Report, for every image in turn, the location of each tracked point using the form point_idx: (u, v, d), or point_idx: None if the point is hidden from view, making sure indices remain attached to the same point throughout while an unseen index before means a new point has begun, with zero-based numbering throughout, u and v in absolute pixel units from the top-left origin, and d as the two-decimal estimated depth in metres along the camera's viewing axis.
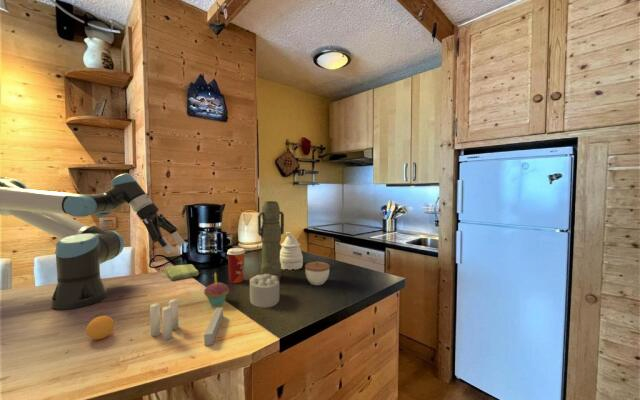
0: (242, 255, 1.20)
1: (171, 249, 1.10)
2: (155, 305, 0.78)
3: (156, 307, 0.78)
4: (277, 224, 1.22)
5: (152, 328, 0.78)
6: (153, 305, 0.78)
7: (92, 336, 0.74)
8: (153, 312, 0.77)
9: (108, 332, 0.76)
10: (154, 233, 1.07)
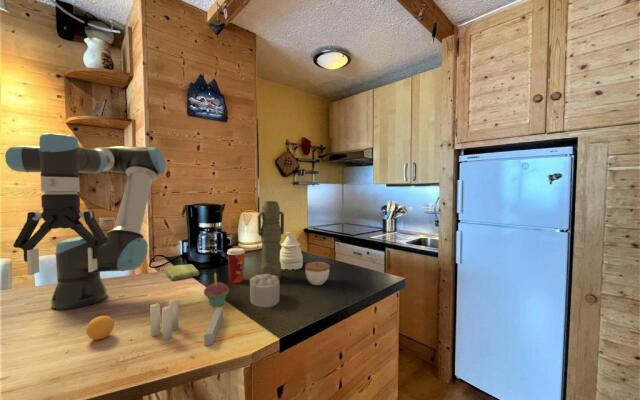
0: (242, 255, 1.20)
1: None
2: (155, 305, 0.78)
3: (156, 307, 0.78)
4: (277, 224, 1.22)
5: (152, 328, 0.78)
6: (153, 305, 0.78)
7: (92, 336, 0.74)
8: (153, 312, 0.77)
9: (108, 332, 0.76)
10: None
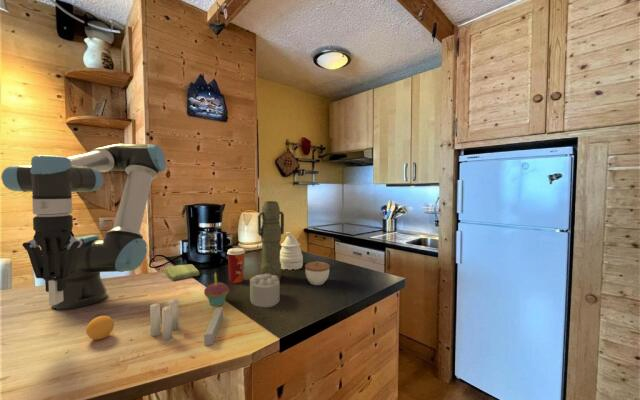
0: (242, 255, 1.20)
1: None
2: (155, 305, 0.78)
3: (156, 307, 0.78)
4: (277, 224, 1.22)
5: (152, 328, 0.78)
6: (153, 305, 0.78)
7: (92, 336, 0.74)
8: (153, 312, 0.77)
9: (108, 332, 0.76)
10: None
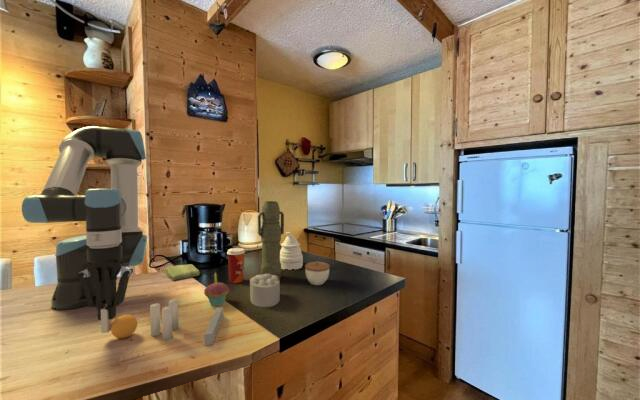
0: (242, 255, 1.20)
1: None
2: (155, 305, 0.78)
3: (156, 307, 0.78)
4: (277, 224, 1.22)
5: (152, 328, 0.78)
6: (153, 305, 0.78)
7: (114, 329, 0.74)
8: (153, 312, 0.77)
9: None
10: None
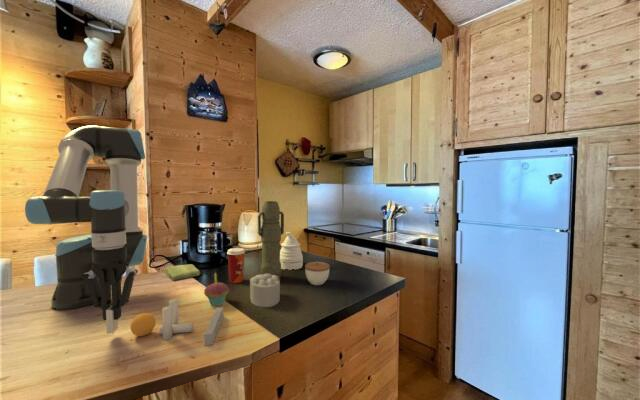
0: (242, 255, 1.20)
1: None
2: (191, 329, 0.80)
3: (189, 331, 0.79)
4: (277, 224, 1.22)
5: None
6: (192, 326, 0.80)
7: (141, 324, 0.76)
8: (185, 329, 0.79)
9: (132, 321, 0.77)
10: None
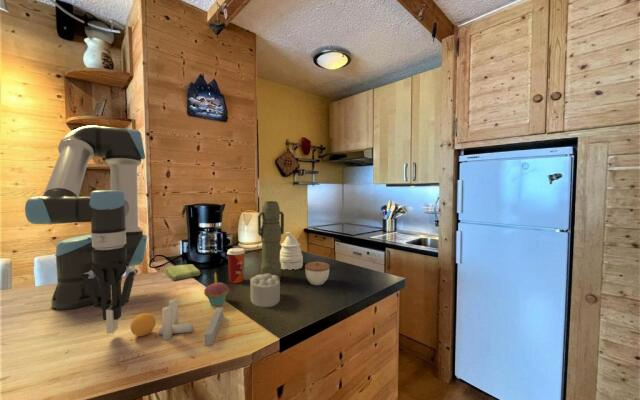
0: (242, 255, 1.20)
1: None
2: (191, 329, 0.80)
3: None
4: (277, 224, 1.22)
5: None
6: (191, 326, 0.80)
7: (141, 324, 0.76)
8: (184, 330, 0.79)
9: (132, 321, 0.77)
10: None
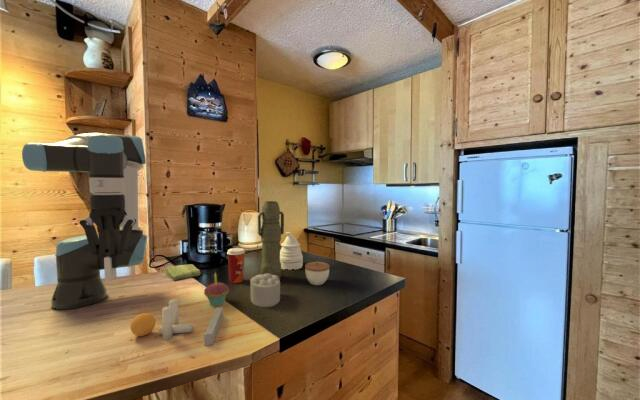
0: (242, 255, 1.20)
1: None
2: (191, 329, 0.80)
3: None
4: (277, 224, 1.22)
5: None
6: (191, 326, 0.80)
7: (141, 324, 0.76)
8: (184, 330, 0.79)
9: (132, 321, 0.77)
10: None
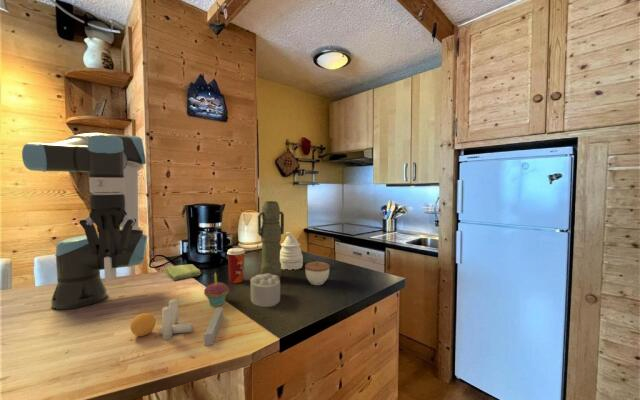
0: (242, 255, 1.20)
1: None
2: (191, 329, 0.80)
3: (189, 331, 0.79)
4: (277, 224, 1.22)
5: None
6: (191, 326, 0.80)
7: (141, 324, 0.76)
8: (184, 330, 0.79)
9: (132, 321, 0.77)
10: None
